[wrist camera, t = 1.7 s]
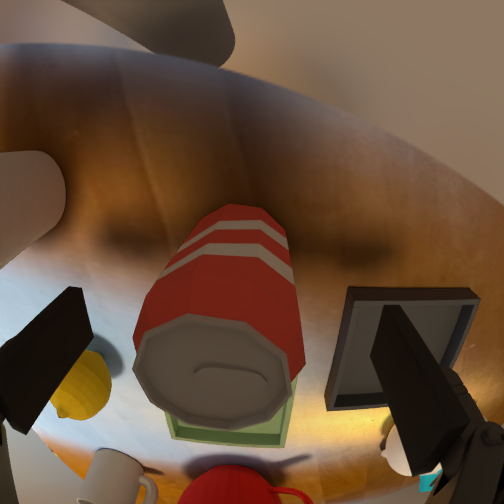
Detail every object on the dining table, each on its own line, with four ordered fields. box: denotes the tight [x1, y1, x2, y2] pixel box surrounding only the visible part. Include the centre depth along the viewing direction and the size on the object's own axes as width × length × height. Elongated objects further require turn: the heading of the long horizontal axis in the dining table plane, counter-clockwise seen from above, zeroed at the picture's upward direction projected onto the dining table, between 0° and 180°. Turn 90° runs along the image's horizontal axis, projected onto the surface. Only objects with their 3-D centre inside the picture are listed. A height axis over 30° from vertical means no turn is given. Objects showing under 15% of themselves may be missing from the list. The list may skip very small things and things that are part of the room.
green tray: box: [164, 375, 298, 448], centre depth 25 cm, size 11×11×2 cm
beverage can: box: [132, 203, 306, 431], centre depth 15 cm, size 6×6×12 cm
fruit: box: [50, 350, 112, 421], centre depth 21 cm, size 6×6×8 cm
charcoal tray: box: [324, 287, 481, 411], centre depth 22 cm, size 11×11×2 cm
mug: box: [381, 415, 487, 492], centre depth 24 cm, size 12×9×12 cm
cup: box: [76, 449, 158, 504], centre depth 28 cm, size 7×10×9 cm
